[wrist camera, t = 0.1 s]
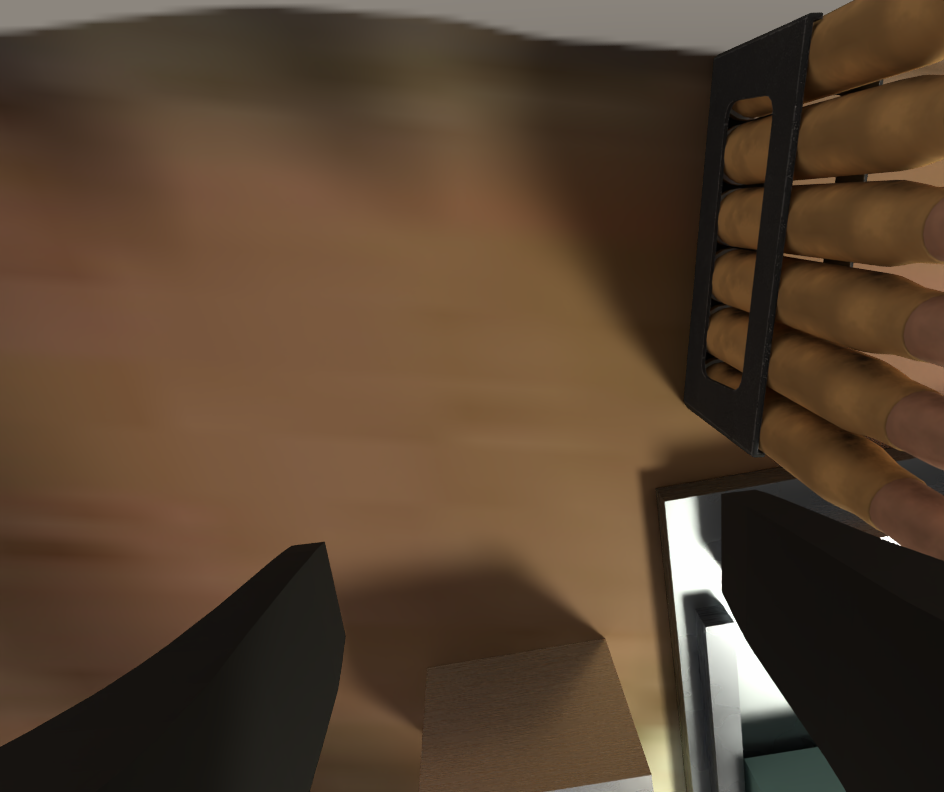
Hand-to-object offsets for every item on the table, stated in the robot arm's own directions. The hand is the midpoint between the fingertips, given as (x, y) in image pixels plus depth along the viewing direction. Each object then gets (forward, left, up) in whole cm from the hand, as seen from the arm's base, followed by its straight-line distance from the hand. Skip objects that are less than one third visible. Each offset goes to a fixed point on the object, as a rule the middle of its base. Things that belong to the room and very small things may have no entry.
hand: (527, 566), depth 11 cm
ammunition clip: (+4, -8, -10) cm, 14 cm away
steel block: (-12, +1, -10) cm, 16 cm away
